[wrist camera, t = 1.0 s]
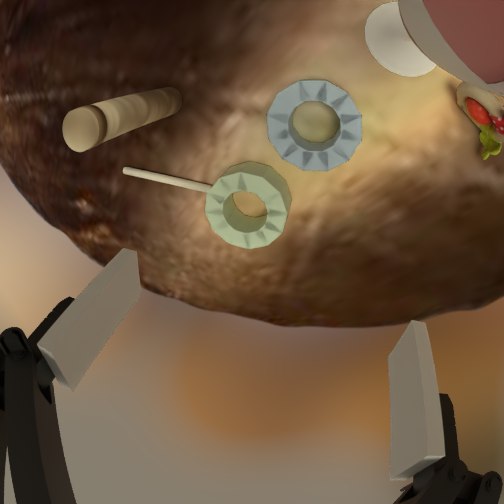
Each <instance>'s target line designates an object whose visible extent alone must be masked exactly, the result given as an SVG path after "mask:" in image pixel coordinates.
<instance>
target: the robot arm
mask: <svg viewBox="0 0 504 504" xmlns="http://www.w3.org/2000/svg"><path fill="white" fill-rule="evenodd" d="M140 296H141V287H140V279H139V270H138V261H137V252H136V251H132V250H129V249H125V248H123V249H122V250H121V251H120V252H119V253H118V254H117V255H116V256H115V257H114V258H113V259H112V260H111V261H110V262H109V263H108V264H107V265H106V266H105V267H104V269H103V270H102V271H101V272H100V273H99V274H98V275H97V276H96V277H95V278H94V279H93V280H92V281H91V282H90V283H89V285H88V286H87V287H86V288H85V289H84V290H83V291H82V292H81V293H80V294H79V295H78V297H77V298H76V299H74V298H72V297H68V298H66V299H64V300H62V301H61V302H60V303H58V305H57V306H56V307H55V308H54V309H53V311H52V312H50V313H49V314H48V316H47V318H45V319H44V320H43V322H41V324H40V325H39V326H38V327H37V328H36V329H35V331H34V332H33V333H32V334H31V335H30V336H29V338H28V339H27V338H26V336H25V334H24V332H23V331H22V330H21V329H20V328H17V327H11V328H8V329H6V330H4V331H3V332H2V333H1V335H0V504H4V476H5V462H6V451H7V447H8V456H9V463H10V470H11V477H12V483H13V488H14V493H15V498H16V502H17V504H76V500H75V497H74V493H73V490H72V486H71V483H70V478H69V475H68V471H67V466H66V462H65V457H64V452H63V447H62V443H61V437H60V431H59V425H58V419H57V412H56V404H55V397H54V387H53V383H52V381H53V379H54V378H55V377H56V379H57V381H58V382H59V384H60V385H62V386H64V387H65V388H67V389H69V390H71V391H74V390H75V388H76V386H77V385H78V384H79V382H80V381H81V379H82V377H83V376H84V375H85V373H86V371H87V370H88V369H89V367H90V366H91V364H92V363H93V361H94V360H95V358H96V357H97V356H98V354H99V353H100V351H101V350H102V348H103V347H104V346H105V344H106V343H107V341H108V340H109V338H110V337H111V336H112V334H113V333H114V331H115V330H116V328H117V327H118V326H119V324H120V323H121V322H122V320H123V319H124V318H125V316H126V315H127V313H128V312H129V311H130V309H131V308H132V307H133V305H134V303H136V301H137V300H138V298H139V297H140ZM388 366H389V383H390V412H391V451H390V477H389V480H407V479H408V478H410V477H412V476H413V483H411V484H409V485H407V486H405V487H403V488H402V489H401V490H400V491H404V490H405V491H404V492H403V493H402V495H401V496H400V497H399V498H398V499H397V500H396V501H395V502H394V503H393V504H498V501H499V498H500V494H501V491H502V485H503V483H502V479H501V477H500V475H499V474H498V473H497V472H494V471H490V472H487V473H486V474H484V475H480V474H477V473H474V472H471V471H468V469H467V466H466V465H465V463H464V462H463V461H461V460H460V459H459V453H458V442H457V433H456V426H455V418H454V410H453V404H452V402H451V400H450V398H449V396H448V394H441V393H439V391H438V385H437V378H436V372H435V367H434V361H433V356H432V351H431V346H430V341H429V336H428V332H427V327H426V323H423V322H419V321H414V320H412V321H411V322H410V324H409V325H408V327H407V329H406V330H405V332H404V334H403V335H402V337H401V338H400V340H399V341H398V343H397V345H396V346H395V348H394V349H393V351H392V352H391V354H390V355H389V357H388Z"/></svg>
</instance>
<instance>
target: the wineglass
mask: <svg viewBox="0 0 504 504" xmlns="http://www.w3.org/2000/svg"><path fill="white" fill-rule="evenodd" d="M364 30H365V40H366V43H367V45H368V48H369V50H370V53H371V54H372V55H373V56H374V58H375V59H376V60H377V61H378V63H379V64H381V65H382V66H383V67H385V68H386V69H387V70H389V71H391V72H393V73H396V74H398V75H401V76H408V77H416V76H421V75H425V74H427V73H428V72H430V71H431V70H433V69H434V68H435V67H436V65H438V66H439V67H441V68H442V69H443V70H445V71H447V72H448V73H450V74H452V75H454V76H455V77H457V78H459V79H461V80H462V81H465V82H467V83H469V84H472V85H474V86H476V87H479V88H481V89H484V90H487V91H490V92H492V93H494V94H497V95H500V96H503V97H504V0H398V2H390V3H385V4H382V5H380V6H379V7H377V8H376V9H374V10H373V11H372V13H371V14H370V15H369V17H368V18H367V21H366V25H365V29H364Z"/></svg>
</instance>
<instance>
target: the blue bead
mask: <svg viewBox="0 0 504 504" xmlns="http://www.w3.org/2000/svg"><path fill="white" fill-rule="evenodd" d="M305 101H322V102H323V103H325V104H327V105H329V106H330V107H332V108H334V110H335V112H336V113H337V115H338V117H339V118H340V127H339V129H338V131H337V132H336V134H335V136H334V137H333V138H331V139H329V140H327V141H326V142H324V143H311V142H309V141H307V140H305V139H303V138H302V137H300V136H299V134H298V133H297V131H296V130H295V128H294V127H293V113H294V111H295V109H296V107H297V106H298V105H300V104H302V103H303V102H305ZM267 125H268V139H269V140H270V141H271V143H272V144H273V146H274V147H275V149H276V150H277V152H278V153H279V155H280V156H281V158H282V159H283V160H285V161H287V162H289V163H291V164H293V165H294V166H296V167H298V168H300V169H302V170H303V171H304V170H306V171H329V170H331V169H333V168H335V167H337V166H339V165H341V164H343V163H345V162H347V161H349V159H350V158H351V156H352V155H353V153H354V151H355V150H356V148H357V147H358V145H359V144H360V142H361V141H362V115H361V114H360V112H359V110H358V109H357V107H356V105H355V103H354V102H353V100H352V98H351V97H350V95H349V93H348V92H347V91H345V90H343V89H341V88H340V87H338V86H336V85H334V84H332V83H331V82H329V81H327V80H299V81H298V82H296V83H294V84H293V85H291V86H289V87H288V88H286V89H284V90H283V91H281V92H279V93H278V94H277V96H276V98H275V100H274V102H273V104H272V105H271V107H270V109H269V111H268V113H267Z"/></svg>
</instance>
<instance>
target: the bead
mask: <svg viewBox="0 0 504 504" xmlns="http://www.w3.org/2000/svg"><path fill="white" fill-rule="evenodd" d="M242 190H243V191H247V192H251V193H254V194H256V195H257V196H258V197H259V198H260V199H261V200H262V201H264V203H265V206H266V209H267V212H268V213H267V214H266V215H265V216H261V217H256V218H253V217H250V216H246V215H244V214H243V213H241V212H240V211H239V210H238V209H237V208H236V206H235V204H234V201H233V199H232V198H233V193H234V192H238V191H242ZM291 201H292V198H291V195H290V192H289V189H288V186H287V183H286V180H285V179H284V178H282V177H281V176H280V175H279V174H278V173H277V172H276V171H275V170H274V169H273V168H271V167H270V166H267V165H263V164H259V163H255V162H251V161H249V162H245V163H242V164H239V165H235V166H232V167H230V168H229V169H228V170H227V171H226V172H225V173H224V174H223V175H222V176H221V177H220V178H219V179H218V181H217V182H216V183H215V184H214V185H213V186H212V188H211V189H210V190H209V191H208V192H207V198H206V207H205V213H206V215H207V218H208V220H209V222H210V225H211V227H212V229H213V231H214V232H216V233H217V234H218V235H219V236H220V237H222V238H223V239H224V240H225V241H226V242H227V243H229V244H232V245H236V246H239V247H243V248H246V249H252V248H257V247H262V246H268V245H269V244H270V243H271V242H272V241H273V240H275V239H276V238H277V237H278V236H279V235H280V234H281V233H283V229H284V226H285V223H286V220H287V216H288V212H289V208H290V204H291Z"/></svg>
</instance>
